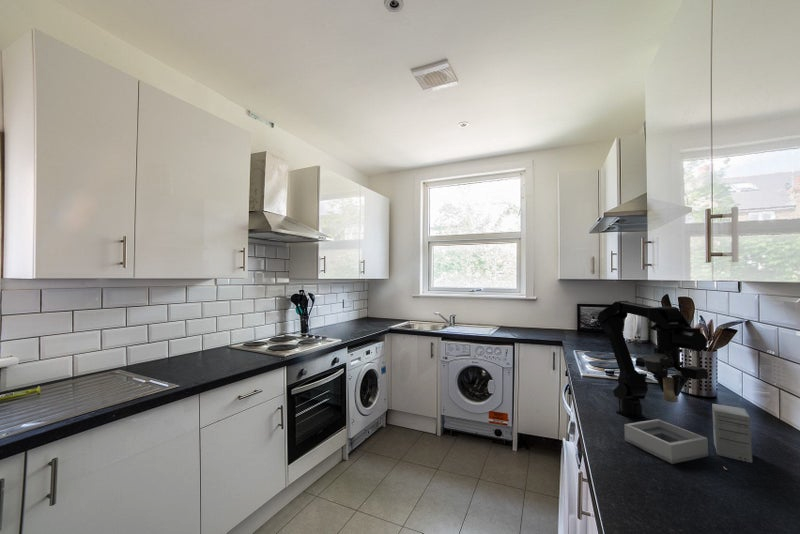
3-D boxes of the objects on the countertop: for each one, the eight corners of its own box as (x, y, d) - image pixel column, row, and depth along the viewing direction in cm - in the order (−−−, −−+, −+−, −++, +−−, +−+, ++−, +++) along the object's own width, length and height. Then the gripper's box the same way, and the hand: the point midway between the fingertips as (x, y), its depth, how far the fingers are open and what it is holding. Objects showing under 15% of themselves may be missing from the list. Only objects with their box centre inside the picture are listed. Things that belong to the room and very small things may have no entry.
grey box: (624, 440, 105) (624, 424, 105) (658, 434, 109) (657, 418, 109) (671, 463, 91) (671, 445, 92) (708, 456, 95) (707, 438, 95)
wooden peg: (661, 399, 110) (660, 377, 110) (668, 398, 111) (667, 376, 111) (672, 402, 106) (671, 380, 107) (680, 401, 107) (679, 379, 108)
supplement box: (713, 445, 102) (711, 402, 102) (748, 452, 97) (746, 408, 98) (715, 455, 96) (713, 410, 96) (753, 463, 91) (750, 416, 92)
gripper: (622, 342, 116) (624, 388, 115) (681, 352, 98) (684, 407, 97) (646, 340, 119) (648, 384, 118) (707, 350, 101) (710, 402, 101)
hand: (670, 394), depth 109 cm, fingers closed on wooden peg, 3 cm apart
